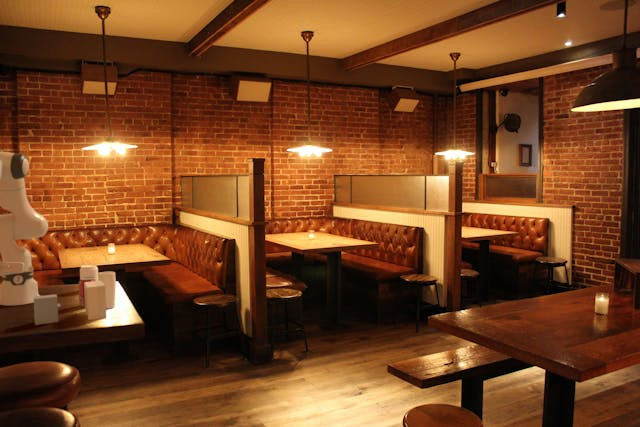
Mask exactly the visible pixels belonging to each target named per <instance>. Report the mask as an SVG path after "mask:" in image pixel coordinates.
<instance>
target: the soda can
mask: <svg viewBox="0 0 640 427" xmlns="http://www.w3.org/2000/svg"><path fill="white" fill-rule="evenodd" d="M92 281H95V279H94V277H84V278H80V277H79V281H78V302H79V305H80V306H81V307H83V308H85V290H84V282H92Z"/></svg>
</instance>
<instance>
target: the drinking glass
mask: <svg viewBox="0 0 640 427" xmlns="http://www.w3.org/2000/svg"><path fill="white" fill-rule="evenodd" d="M116 277H117V276H116V272H115V271H102V272H98V281H102V282H103V284H104V285H105V298H106V310H109V309H113V308H115V306H116V302H115V300H116V286H117V285H116V283H117V281H116V280H117V279H116Z"/></svg>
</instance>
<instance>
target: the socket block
mask: <svg viewBox="0 0 640 427" xmlns="http://www.w3.org/2000/svg"><path fill="white" fill-rule="evenodd" d="M84 290H85V307H84V310H85V311H84V312H85V315H86V316H87V319H88V321H92V320H100V319H101V320H102V319H107V309H106V298H105V285H104V284H103V282H102V281H92V282H84Z"/></svg>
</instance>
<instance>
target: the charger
mask: <svg viewBox="0 0 640 427" xmlns="http://www.w3.org/2000/svg"><path fill="white" fill-rule="evenodd" d="M58 308H61V303H59V302H58V296H57V294H55V293H54V294H47V295H41V296H36V297H34V302H33V309H34V310H33V311H34V314H33V316H34V325H35V326H39V325H45V324H54V322H55V323H59V309H58Z"/></svg>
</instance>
